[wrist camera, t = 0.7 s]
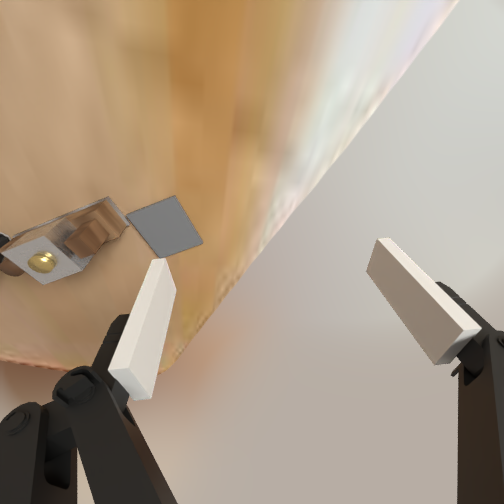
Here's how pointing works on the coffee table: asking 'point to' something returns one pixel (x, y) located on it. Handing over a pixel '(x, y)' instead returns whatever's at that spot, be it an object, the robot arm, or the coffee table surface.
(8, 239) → the camera
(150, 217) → the felt mat
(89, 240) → the plane body
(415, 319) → the robot arm
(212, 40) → the coffee table surface
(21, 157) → the coffee table surface
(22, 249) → the grey gold knob block
